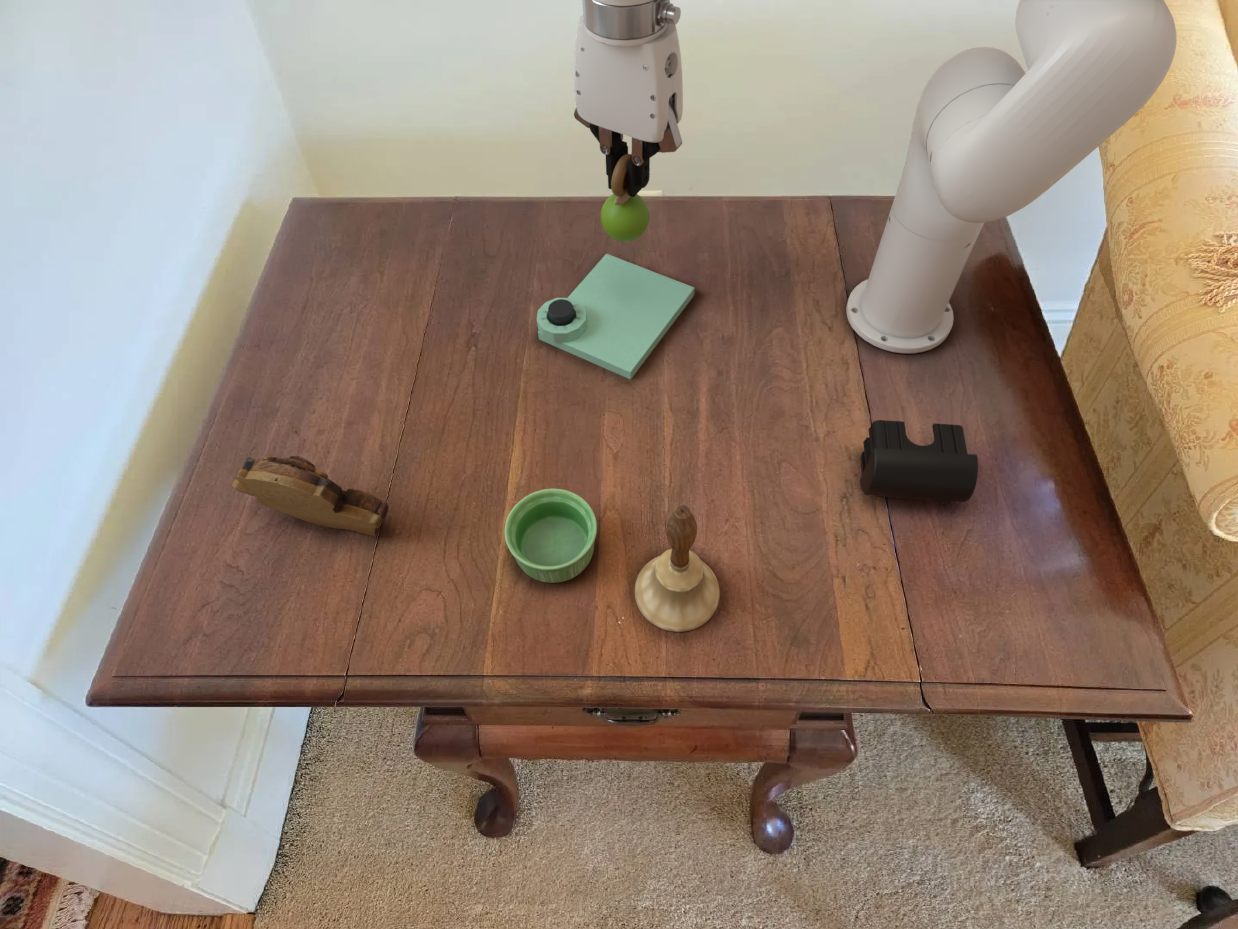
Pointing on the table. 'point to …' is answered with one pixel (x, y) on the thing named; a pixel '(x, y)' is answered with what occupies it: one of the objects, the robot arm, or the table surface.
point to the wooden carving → (309, 494)
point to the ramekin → (551, 534)
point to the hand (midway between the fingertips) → (627, 184)
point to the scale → (617, 315)
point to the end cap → (917, 464)
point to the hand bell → (678, 581)
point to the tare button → (561, 312)
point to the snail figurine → (624, 207)
